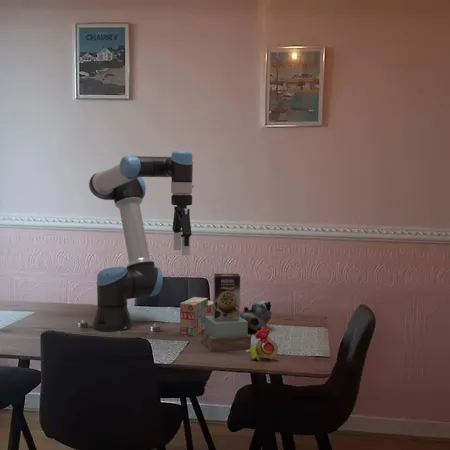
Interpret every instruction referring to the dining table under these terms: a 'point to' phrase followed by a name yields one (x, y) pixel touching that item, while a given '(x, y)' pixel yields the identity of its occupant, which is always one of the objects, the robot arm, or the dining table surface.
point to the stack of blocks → (194, 315)
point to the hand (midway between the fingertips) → (181, 252)
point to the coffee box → (226, 297)
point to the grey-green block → (226, 327)
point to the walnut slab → (226, 342)
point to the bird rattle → (269, 346)
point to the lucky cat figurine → (257, 315)
